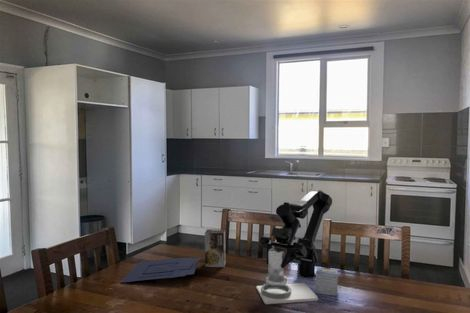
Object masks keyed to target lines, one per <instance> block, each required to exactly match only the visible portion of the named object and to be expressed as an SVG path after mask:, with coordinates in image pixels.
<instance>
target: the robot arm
mask: <svg viewBox="0 0 470 313" xmlns="http://www.w3.org/2000/svg"><path fill="white" fill-rule="evenodd" d="M332 205H333V199H332V197H331V196H330V195H329V194H327V193H325V192H324V191H323V190H321V189H315V188H313V189H310V190H309V192H308V193H306V194H305V195H304V196H303V197H302V198H301V199H299V200H297V201H292V202H288V201H287V202H286V201H284V203H283V204H280V205H279V206H277V208H276V209H275V213H276V215H277V217H278V218H279V220H280V222H281V223H282V224H283V226H282V227H272V229H271V230H272V231H271V233H270V236H265V235H262V236H260V237H259V240H258V242H259V244H261V247H263V249H265V250H266V264H267V265H268V263H269V249H272V248H279V249H283V250H286V253H285V258H284V260H283V262H282V266H281V267H282V268H284V269H285V267H286V266H288V265H289V264H290V263H291V262H292V261H293V260H296V261H298V262H297V270H296V272H297V274H298V275H299V276H300V277H301V278H313V277H315V278H316V270H315V269H316V268H315V267H316V264H318V261H319V255H318V252H317V251H316V250H317V247H316V243H315V240H316V237H317V235H318V233H319V232H318V231H319V229H320V226H321V223H322V220H323V217H324V215H325V214H326V213H328V211H330V208H331V207H332ZM311 207H312V208H313V211H312V213H311V216H310V219H309V221H308V225H307V227H306V230H305V233H304V236H303V237H302V238H301V237H299V238H298V239H297V242H296V241H295V240H296V238H297V237H296V234H297V232H298V229H299V228H301V226H302V225H301V222H300V220H299V219H301V220H303V219H305V218H306V217H307V215H308V214H309V211H308V210H309V209H310V208H311ZM271 237H273V238H274V240H275V241H273V239H272V238H271ZM294 241H295V242H294Z"/></svg>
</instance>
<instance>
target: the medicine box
mask: <svg viewBox="0 0 470 313" xmlns="http://www.w3.org/2000/svg"><path fill="white" fill-rule="evenodd" d="M315 275H316V277H315V294H318V295H319V294H321V295H327V296H332V297H333V296H335V297H337V296H338V289H339V288H338V287H339V285H338V284H339V271H338V269H337V270H336V269H329V268H322V267H321V268H320V267H317V268H316V270H315Z"/></svg>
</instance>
